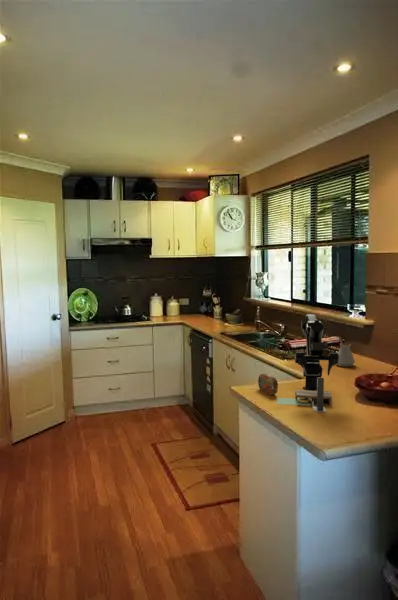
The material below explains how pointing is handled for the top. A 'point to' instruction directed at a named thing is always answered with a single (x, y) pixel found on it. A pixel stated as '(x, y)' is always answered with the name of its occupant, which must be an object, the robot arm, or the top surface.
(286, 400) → the mat
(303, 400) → the token
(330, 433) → the top surface
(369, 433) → the top surface
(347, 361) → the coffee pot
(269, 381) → the tin
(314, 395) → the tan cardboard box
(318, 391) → the grey l-shaped block
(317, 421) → the top surface
